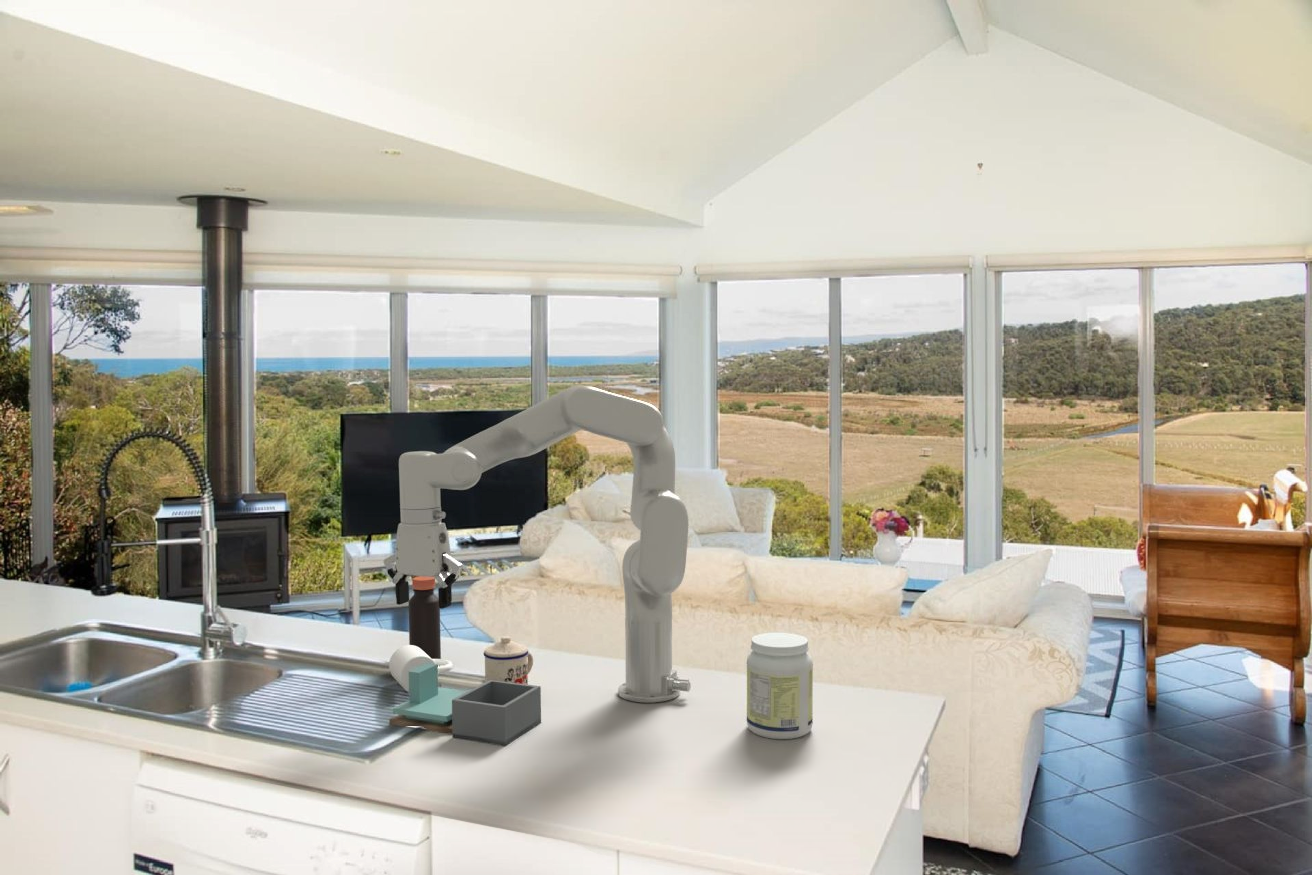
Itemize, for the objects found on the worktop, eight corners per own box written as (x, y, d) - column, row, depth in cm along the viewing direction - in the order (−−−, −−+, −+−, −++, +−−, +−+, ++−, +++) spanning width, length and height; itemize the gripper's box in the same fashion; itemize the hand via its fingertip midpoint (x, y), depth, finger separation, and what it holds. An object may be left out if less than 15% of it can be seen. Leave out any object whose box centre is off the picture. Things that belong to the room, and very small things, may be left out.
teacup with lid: (506, 702, 210) (505, 645, 209) (474, 694, 215) (473, 638, 214) (547, 687, 219) (547, 632, 218) (516, 679, 225) (516, 626, 224)
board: (493, 710, 205) (493, 705, 205) (452, 734, 192) (452, 728, 192) (433, 701, 210) (433, 696, 210) (389, 724, 197) (389, 718, 197)
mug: (400, 697, 214) (400, 658, 213) (389, 684, 222) (388, 647, 222) (458, 688, 219) (457, 651, 219) (444, 676, 228) (443, 639, 227)
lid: (488, 704, 205) (487, 663, 205) (447, 728, 192) (446, 684, 192) (436, 697, 210) (435, 657, 209) (393, 719, 197) (392, 676, 196)
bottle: (447, 664, 237) (445, 576, 235) (428, 672, 230) (426, 582, 229) (422, 660, 239) (420, 574, 238) (403, 668, 233) (401, 579, 232)
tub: (541, 722, 198) (540, 686, 197) (505, 745, 186) (504, 707, 185) (490, 715, 202) (490, 679, 202) (452, 737, 190) (451, 699, 190)
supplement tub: (774, 713, 202) (774, 627, 201) (826, 729, 194) (826, 639, 192) (732, 729, 194) (732, 639, 193) (784, 746, 185) (785, 652, 184)
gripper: (470, 515, 200) (473, 604, 201) (395, 511, 207) (398, 597, 208) (447, 521, 193) (450, 613, 194) (371, 517, 200) (374, 605, 201)
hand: (423, 604), depth 201 cm, fingers open, 9 cm apart
